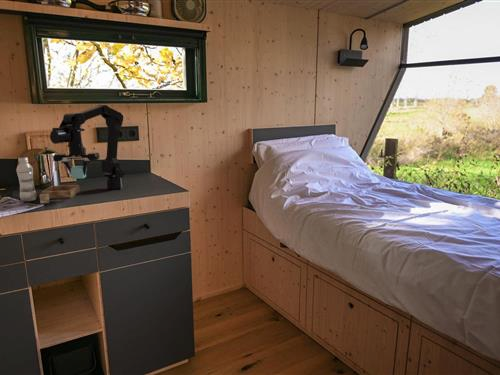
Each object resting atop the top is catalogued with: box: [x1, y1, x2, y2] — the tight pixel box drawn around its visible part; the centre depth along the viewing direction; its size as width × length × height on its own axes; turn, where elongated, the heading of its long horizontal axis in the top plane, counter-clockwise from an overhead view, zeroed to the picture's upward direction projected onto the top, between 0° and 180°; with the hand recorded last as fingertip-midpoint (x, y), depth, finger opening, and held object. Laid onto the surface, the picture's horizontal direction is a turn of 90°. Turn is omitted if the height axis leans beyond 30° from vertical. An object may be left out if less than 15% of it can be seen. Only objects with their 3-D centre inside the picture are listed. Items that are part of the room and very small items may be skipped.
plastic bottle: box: [16, 156, 37, 203], centre depth 167 cm, size 6×7×20 cm
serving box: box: [40, 184, 81, 200], centre depth 179 cm, size 13×13×4 cm
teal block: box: [70, 165, 87, 180], centre depth 171 cm, size 5×5×5 cm
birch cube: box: [39, 193, 51, 204], centre depth 167 cm, size 4×4×4 cm
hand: (78, 175), depth 172 cm, fingers closed on teal block, 5 cm apart
